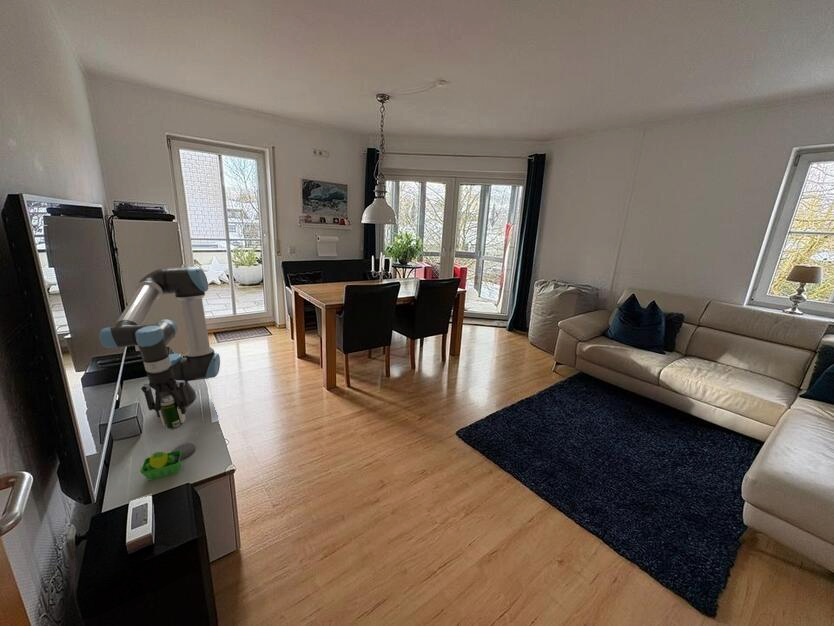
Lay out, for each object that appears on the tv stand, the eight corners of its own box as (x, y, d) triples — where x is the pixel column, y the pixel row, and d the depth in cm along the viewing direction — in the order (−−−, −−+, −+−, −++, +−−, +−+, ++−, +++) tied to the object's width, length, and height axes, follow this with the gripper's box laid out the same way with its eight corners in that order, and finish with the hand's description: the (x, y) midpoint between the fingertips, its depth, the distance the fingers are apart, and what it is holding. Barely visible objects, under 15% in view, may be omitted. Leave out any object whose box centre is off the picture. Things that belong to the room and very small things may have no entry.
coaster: (175, 447, 140) (175, 445, 140) (197, 443, 142) (197, 441, 142) (167, 461, 133) (167, 459, 133) (191, 457, 135) (190, 455, 134)
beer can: (186, 424, 134) (179, 397, 130) (171, 432, 129) (163, 405, 125) (179, 419, 136) (172, 393, 132) (164, 426, 132) (156, 400, 128)
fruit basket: (184, 459, 134) (177, 436, 130) (180, 476, 126) (173, 452, 122) (149, 468, 130) (140, 444, 126) (142, 486, 122) (133, 461, 118)
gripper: (123, 377, 119) (142, 432, 127) (184, 370, 123) (198, 424, 131) (134, 366, 125) (151, 419, 134) (191, 360, 130) (204, 412, 138)
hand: (174, 421), depth 132 cm, fingers closed on beer can, 5 cm apart
